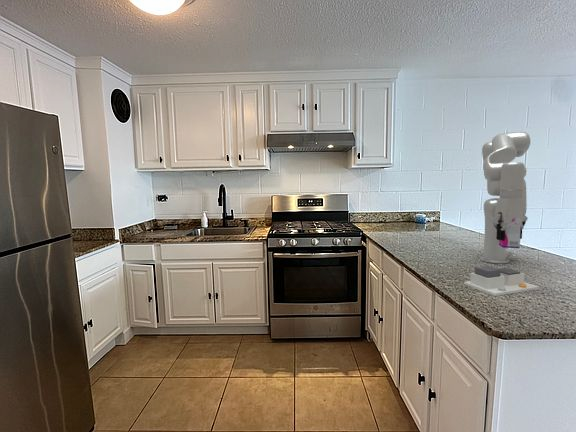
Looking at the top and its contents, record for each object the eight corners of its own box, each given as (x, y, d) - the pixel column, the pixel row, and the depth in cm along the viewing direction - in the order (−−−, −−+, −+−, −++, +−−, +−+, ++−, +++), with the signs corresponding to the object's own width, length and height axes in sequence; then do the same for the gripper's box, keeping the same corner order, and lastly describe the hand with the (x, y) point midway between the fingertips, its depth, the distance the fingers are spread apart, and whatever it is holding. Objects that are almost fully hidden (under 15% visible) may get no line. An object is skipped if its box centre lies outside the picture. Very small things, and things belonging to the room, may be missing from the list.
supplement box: (514, 245, 128) (516, 216, 127) (520, 248, 122) (521, 218, 121) (498, 244, 130) (499, 216, 129) (502, 247, 124) (503, 218, 123)
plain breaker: (486, 275, 129) (487, 265, 128) (500, 279, 123) (500, 269, 123) (474, 276, 127) (474, 267, 127) (487, 281, 121) (488, 271, 121)
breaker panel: (505, 278, 135) (505, 266, 134) (538, 289, 121) (539, 276, 121) (464, 284, 129) (464, 272, 129) (494, 296, 116) (495, 282, 115)
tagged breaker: (505, 277, 132) (506, 267, 131) (519, 281, 126) (520, 271, 125) (494, 279, 130) (494, 269, 130) (508, 283, 124) (508, 273, 124)
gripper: (519, 193, 130) (517, 236, 132) (484, 195, 125) (483, 239, 127) (538, 194, 123) (535, 239, 125) (502, 196, 118) (500, 242, 120)
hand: (509, 238), depth 126 cm, fingers closed on supplement box, 7 cm apart
